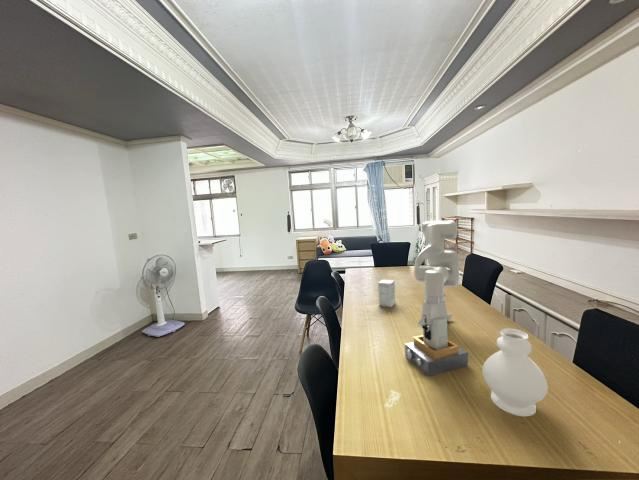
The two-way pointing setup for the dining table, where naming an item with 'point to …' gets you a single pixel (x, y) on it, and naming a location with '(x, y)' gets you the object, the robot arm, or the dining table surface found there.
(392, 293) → the supplement box
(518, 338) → the decorative vase
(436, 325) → the small box
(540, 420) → the dining table surface
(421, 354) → the frame
